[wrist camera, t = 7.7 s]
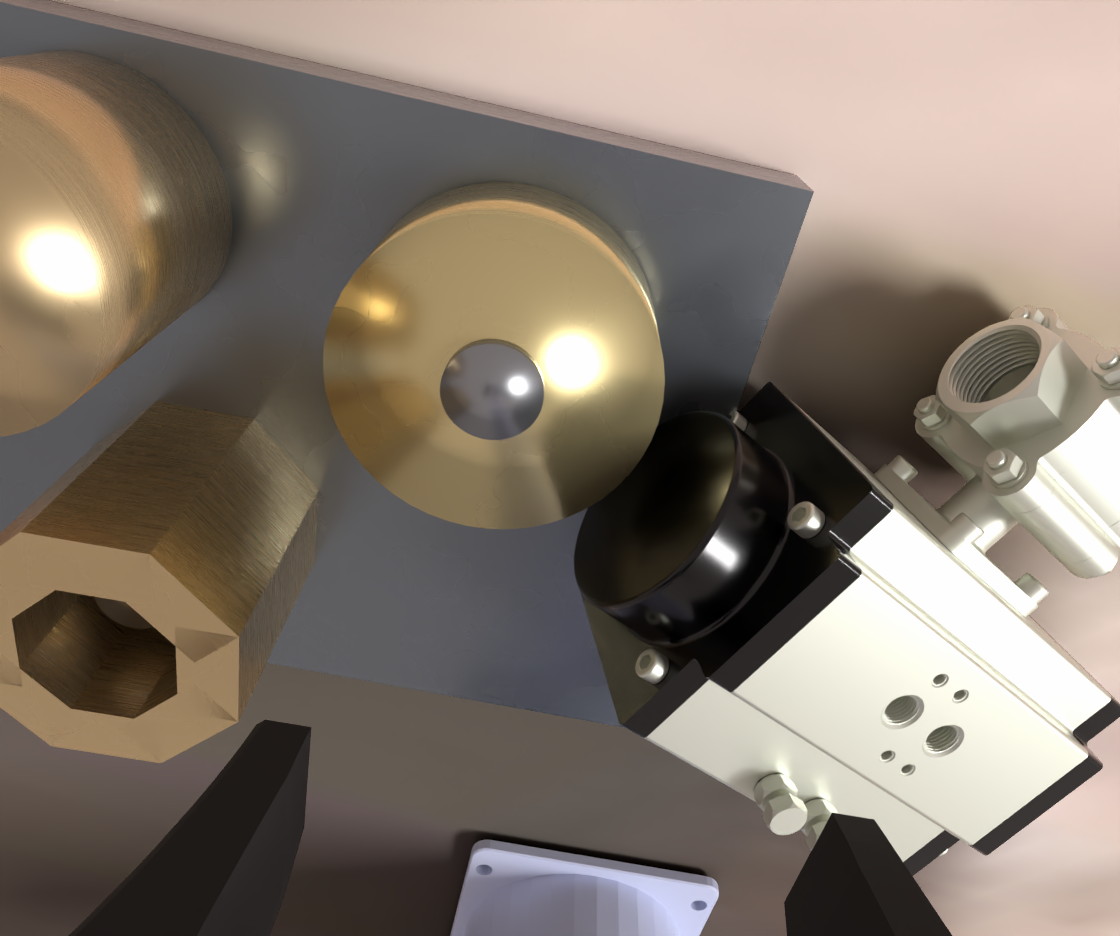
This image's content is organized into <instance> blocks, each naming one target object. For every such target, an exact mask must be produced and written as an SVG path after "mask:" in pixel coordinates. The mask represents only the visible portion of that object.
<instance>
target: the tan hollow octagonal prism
mask: <svg viewBox="0 0 1120 936" xmlns="http://www.w3.org/2000/svg"><path fill="white" fill-rule="evenodd" d="M318 499H319V488H318V487H317V486H316V485H315V484H314V483H313V482H312V481H311V479H310V478H309V477H308V476H307V475H306V474H305V473H304V472H303V471H302V470H301V469H300V468H299V467H298V465H297V464H296V463H295V462H294V461H293V460H292V459H291V458H290V457H289V456H288V455H287V454H286V453H285V451H284V450H283V449H282V448H281V447H280V446H279V445H278V444H277V443H276V442H275V441H274V440H273V439H272V437H271V436H270V435H269V434H268V433H267V432H266V431H265V430H264V429H263V428H262V427H261V426H260V425H259V423H258V422H257V421H256V420H255V419H251V418H246V417H240V416H235V415H230V414H224V413H219V412H213V411H208V410H203V409H197V408H192V407H186V406H181V405H175V404H170V403H165V402H159V401H156V402H155V403H153V404H152V405H150V406H149V407H148V408H146V409H145V410H143V411H142V412H141V413H139V414H138V415H137V416H135V417H134V418H132V419H131V420H130V421H128V422H127V423H125V424H124V425H123V426H121V427H120V428H119V429H117V430H116V431H114V432H113V433H112V434H110V435H109V436H107V437H106V438H105V439H103V440H102V441H101V442H99V443H98V444H96V445H95V446H94V447H92V448H91V449H90V450H89V451H88V452H87V453H86V454H85V455H84V456H82V457H81V458H80V459H79V460H78V461H77V462H76V463H75V464H74V465H73V466H72V467H71V468H70V469H68V470H67V471H66V472H65V473H64V474H63V475H62V476H61V477H60V478H59V479H58V480H57V481H56V482H55V483H53V484H52V485H51V486H50V487H49V488H48V489H47V490H46V491H45V492H44V493H43V494H42V495H41V496H39V497H38V498H37V499H36V500H35V501H34V502H33V503H32V504H31V505H30V506H29V507H28V508H27V509H25V510H24V511H23V512H22V513H21V514H20V515H19V516H18V517H17V518H16V519H15V520H14V521H13V522H12V523H10V524H9V525H8V526H7V527H6V528H5V529H4V530H3V531H2V532H1V533H0V707H1V708H2V709H3V710H5V711H6V712H7V713H8V714H10V715H11V716H12V717H14V718H15V719H16V720H18V721H19V722H20V723H22V724H23V725H24V726H26V727H27V728H28V729H29V730H31V731H32V732H33V733H35V734H36V735H37V736H39V737H40V738H41V739H43V740H44V741H45V742H47V743H48V744H49V745H50V746H55V747H61V748H67V749H74V750H80V751H86V752H93V753H99V754H106V755H112V756H118V757H125V758H131V759H137V760H144V761H150V762H156V763H162V762H164V761H166V760H168V759H170V758H172V757H174V756H175V755H177V754H179V753H181V752H183V751H185V750H187V749H188V748H190V747H192V746H194V745H196V744H198V743H200V742H201V741H203V740H205V739H207V738H209V737H211V736H213V735H214V734H216V733H218V732H220V731H222V730H224V729H226V728H227V727H229V726H231V725H233V724H235V723H237V722H238V721H239V719H240V717H241V715H242V713H243V711H244V709H245V707H246V705H247V702H248V700H249V698H250V696H251V694H252V692H253V690H254V688H255V686H256V684H257V682H258V679H259V677H260V675H261V673H262V671H263V669H264V667H265V665H266V663H267V661H268V659H269V656H270V654H271V652H272V650H273V648H274V646H275V644H276V642H277V640H278V638H279V636H280V634H281V631H282V629H283V627H284V625H285V623H286V621H287V619H288V617H289V615H290V613H291V611H292V608H293V606H294V604H295V602H296V600H297V598H298V596H299V594H300V592H301V590H302V588H303V586H304V583H305V581H306V579H307V577H308V575H309V573H310V571H311V569H312V567H313V565H314V562H315V546H316V530H317V515H318ZM95 597H100V598H106V599H112V600H118V601H124V602H126V603H127V604H128V605H129V606H131V607H132V608H133V609H134V610H135V611H136V612H137V613H139V614H140V615H141V616H142V617H143V618H144V619H145V620H146V621H148V622H149V623H150V624H151V625H152V626H153V627H151V628H144V629H137V628H131V627H127V626H124V625H121V624H119V623H117V622H115V621H113V620H112V619H110V618H109V617H108V616H107V615H106V614H105V613H104V612H103V611H102V610H101V609H100V608H99V606H98V604H97V602H96V600H95Z"/></svg>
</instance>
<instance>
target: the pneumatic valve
mask: <svg viewBox="0 0 1120 936" xmlns="http://www.w3.org/2000/svg"><path fill="white" fill-rule="evenodd" d="M729 415H731V416H732V418H731V420H730V419H728V418H727V417H726V416H724V415H722V414H719V413H716V412H713V411H702V410H700V411H692V412H688V413H684V414H681V415H679V416H676V417H674V418H672V419H669V420H667V421H666V422H664V423H662V424H660V425H659V426H657V427H656V430H655V433H654V435H653V438H652V440H651V442H650V444H649V446H648V448H647V449H646V451H645V453H644V455H643V457H642V458H641V460H640V461H639V462H638V464H637V465H636V466H635V468H634V469H633V470H632V472H631V473H630V474H629V475H628V476H627V477H626V478H625V479H624V480H623V481H622V482H621V483H620V484H619V485H618V486H617V487H616V488H615V489H614V490H613V491H611V492H610V493H609V494H607V495H606V496H605V497H604V498H602V499H601V500H600V501H598V502H596V503H595V504H593V505H591V506H590V507H588V509H587V511H586V513H585V516H584V518H583V520H582V523H581V526H580V529H579V532H578V536H577V540H576V545H575V551H574V574H575V579H576V583H577V585H578V588H579V590H580V592H581V596H582V599H583V602H584V606H585V609H586V613H587V616H588V619H589V623H590V626H591V630H592V633H593V636H594V640H595V643H596V646H597V650H598V653H599V657H600V660H601V663H602V667H603V670H604V674H605V677H606V680H607V684H608V687H609V691H610V694H611V697H612V701H613V704H614V707H615V711H616V714H617V718H618V721H619V724H620V725H622V726H624V727H626V728H627V729H629V730H631V731H633V732H634V733H636V734H638V735H640V736H641V737H643V738H645V739H647V740H648V741H650V742H652V743H654V744H655V745H657V746H659V747H661V748H662V749H664V750H666V751H668V752H669V753H671V754H673V755H675V756H676V757H678V758H680V759H682V760H683V761H685V762H687V763H689V764H690V765H692V766H694V767H696V768H697V769H699V770H701V771H703V772H704V773H706V774H708V775H710V776H711V777H713V778H715V779H717V780H719V781H720V782H722V783H724V784H726V785H727V786H729V787H731V788H733V789H734V790H736V791H738V792H740V793H741V794H743V795H745V796H747V797H748V798H750V799H752V800H754V801H755V802H756V803H757V805H758V806H759V807H760V808H761V809H762V810H763V811H764V813H763V815H762V817H763V819H764V821H765V824H766V826H767V827H768V828H769V829H770V830H771V831H773V832H774V833H776V834H778V835H788V834H792V833H794V832H796V831H798V830H799V829H800V830H801V831H802V832H803V833H804V834H805V835H806V836H807V838H806V840H805V841H806V843H807V845H808V847H809V849H810V850H811V851H812V849H813V847H814V845H815V844H816V842H817V840H818V838H819V836H820V834H821V832H822V830H823V829H824V827H825V825H826V823H827V821H828V819H829V817H830V815H831V813H838V814H844V815H850V816H856V817H862V818H869V819H874V820H875V821H876V823H877V824H878V826H879V827H880V829H881V830H882V831H883V833H884V834H885V836H886V837H887V839H888V840H889V842H890V843H891V845H892V846H893V848H894V849H895V851H896V852H897V854H898V855H899V857H900V858H901V860H902V861H903V863H904V864H905V866H906V867H907V869H908V871H909V872H910V874H911V875H912V876H913V875H914V874H916V873H917V872H918V871H920V870H921V869H922V868H924V867H925V866H926V865H927V864H929V863H930V862H931V861H933V860H934V859H935V858H937V857H939V856H942V855H944V854H945V853H946V852H947V850H948V848H950V847H951V846H952V845H953V844H955V843H956V842H957V841H959V840H961V841H963V842H964V843H966V844H968V845H969V846H971V847H972V848H974V849H975V850H977V851H979V852H980V853H982V854H983V855H988V854H990V853H991V852H992V851H994V850H995V849H996V848H998V847H999V846H1000V845H1002V844H1003V843H1004V842H1006V841H1007V840H1008V839H1010V838H1011V837H1012V836H1014V835H1015V834H1016V833H1018V832H1019V831H1020V830H1022V829H1023V828H1024V827H1026V826H1027V825H1028V824H1030V823H1031V822H1032V821H1034V820H1035V819H1036V818H1038V817H1039V816H1040V815H1041V814H1043V813H1044V812H1045V811H1047V810H1048V809H1049V808H1051V807H1052V806H1053V805H1055V804H1056V803H1057V802H1059V801H1060V800H1061V799H1063V798H1064V797H1065V796H1067V795H1068V794H1069V793H1071V792H1072V791H1073V790H1075V789H1076V788H1077V787H1079V786H1080V785H1081V784H1083V783H1084V782H1085V781H1087V780H1088V779H1089V778H1091V777H1092V776H1093V775H1095V774H1096V773H1097V772H1099V771H1100V770H1101V769H1102V767H1103V764H1102V763H1101V761H1100V760H1099V759H1098V758H1097V757H1096V756H1095V755H1094V754H1093V753H1092V752H1091V751H1090V749H1089V748H1088V747H1087V743H1088V741H1089V740H1090V739H1092V738H1093V737H1094V736H1095V735H1097V734H1098V733H1099V732H1101V731H1102V730H1103V729H1105V728H1106V727H1107V726H1108V725H1110V724H1111V723H1112V722H1114V721H1115V720H1116V719H1118V718H1119V717H1120V703H1119V702H1118V701H1117V700H1116V699H1115V698H1114V697H1113V696H1112V695H1111V694H1110V693H1109V692H1108V691H1107V690H1105V689H1104V688H1103V687H1102V686H1101V685H1100V684H1099V683H1098V682H1097V681H1096V680H1095V679H1094V678H1093V677H1092V676H1091V675H1090V674H1089V673H1088V672H1087V671H1086V670H1085V669H1084V668H1083V667H1082V666H1081V665H1080V664H1079V663H1078V662H1077V661H1076V660H1075V659H1074V658H1073V657H1072V656H1071V655H1070V654H1069V653H1068V652H1067V651H1065V650H1064V649H1063V648H1062V647H1061V646H1060V645H1059V644H1058V643H1057V642H1056V641H1055V640H1054V639H1053V638H1052V637H1051V636H1050V635H1049V634H1048V633H1047V632H1046V631H1045V630H1044V629H1043V628H1042V627H1041V626H1040V625H1039V624H1038V623H1037V622H1036V621H1035V620H1034V619H1033V618H1032V617H1031V616H1030V615H1029V614H1030V613H1032V612H1033V611H1034V610H1035V609H1036V608H1038V607H1039V606H1038V605H1037V603H1039V602H1040V601H1041V600H1042V599H1044V598H1045V597H1046V596H1047V595H1048V594H1049V591H1048V590H1047V589H1046V588H1045V587H1043V586H1042V585H1041V584H1040V583H1039V582H1038V581H1037V580H1036V579H1035V578H1034V577H1033V576H1031V575H1030V574H1029V573H1026V574H1025V575H1023V576H1022V577H1021V578H1020V579H1019V580H1017V581H1016V582H1015V583H1014V582H1013V581H1012V580H1011V579H1010V578H1009V577H1008V576H1007V575H1006V574H1005V573H1004V572H1003V571H1001V570H1000V569H999V568H998V567H997V566H996V565H995V564H994V563H993V562H992V561H991V560H990V559H989V558H988V557H987V556H986V555H985V553H986V551H987V550H988V549H989V548H990V547H991V546H992V545H994V544H995V543H996V542H997V541H998V540H999V539H1000V538H1002V537H1003V536H1004V535H1005V534H1006V533H1007V532H1008V531H1010V530H1011V529H1012V528H1013V527H1014V526H1015V525H1016V524H1018V523H1020V524H1021V525H1022V526H1023V527H1025V528H1026V529H1027V530H1028V531H1029V532H1030V533H1031V534H1032V535H1033V536H1034V537H1035V538H1036V539H1037V540H1038V541H1039V542H1040V543H1041V544H1042V545H1043V546H1044V547H1045V548H1046V549H1047V550H1048V551H1049V552H1050V553H1051V554H1052V555H1053V556H1054V557H1055V558H1056V559H1058V560H1059V561H1060V562H1061V563H1062V564H1063V565H1064V566H1065V567H1066V568H1067V569H1068V570H1069V571H1070V572H1071V573H1072V574H1074V575H1076V576H1078V577H1082V578H1094V577H1098V576H1102V575H1105V574H1108V573H1110V572H1111V571H1112V569H1113V567H1114V565H1115V564H1116V562H1117V561H1118V558H1119V553H1120V348H1119V347H1114V348H1111V349H1108V350H1106V349H1105V348H1104V347H1103V346H1101V345H1100V344H1099V343H1098V342H1096V341H1095V340H1093V339H1091V338H1089V337H1088V336H1085V335H1083V334H1081V333H1078V332H1075V331H1071V330H1069V328H1068V327H1067V326H1066V325H1065V324H1064V323H1063V321H1062V320H1061V319H1060V318H1059V316H1058V315H1057V314H1056V313H1055V312H1054V311H1053V310H1051V309H1049V308H1039V309H1037V308H1035V307H1033V306H1031V305H1026V306H1023V307H1019V308H1016V309H1015V310H1014V311H1013V312H1012V313H1011V315H1010V317H1009V318H1008V320H1005V321H1002V322H998V323H995V324H993V325H990V326H988V327H986V328H984V329H982V330H980V331H978V332H977V333H975V334H974V335H972V336H971V337H969V338H968V339H967V340H966V341H964V342H963V343H962V344H961V345H960V346H959V347H958V348H957V349H956V350H955V351H954V352H953V353H952V355H951V356H950V357H949V359H948V360H947V362H946V363H945V365H944V367H943V369H942V371H941V373H940V376H939V380H938V383H937V388H936V395H931V396H928V397H925V398H922V399H921V400H920V401H919V402H918V403H917V406H916V408H915V410H914V413H913V415H914V416H915V417H916V418H917V419H916V422H915V430H916V432H917V433H918V434H919V435H920V436H921V437H922V438H923V439H924V440H925V441H926V442H927V443H928V444H929V445H930V446H931V447H932V448H933V449H934V450H935V451H936V452H938V453H939V454H940V455H941V456H942V457H943V458H944V459H945V460H946V461H947V462H948V463H949V464H950V465H951V466H952V467H953V468H954V469H955V470H956V471H957V472H958V473H959V474H960V475H961V476H962V477H963V478H965V479H966V480H967V481H968V483H967V484H966V485H965V486H963V487H962V488H961V489H960V490H959V491H958V492H957V493H956V494H955V495H953V496H952V497H951V498H950V499H949V500H948V501H947V502H946V503H945V504H943V505H942V506H941V507H940V508H938V509H935V508H934V507H933V506H932V505H931V504H929V503H928V502H927V501H926V500H925V499H924V498H923V497H922V496H921V495H920V494H918V493H917V492H916V491H915V490H914V489H913V488H912V487H911V486H910V485H909V484H907V483H908V482H910V481H911V480H912V479H913V478H914V477H915V476H916V475H917V474H918V471H917V470H916V469H915V468H914V467H913V466H912V465H910V464H909V463H908V462H907V461H906V460H905V459H904V458H903V457H902V456H900V455H898V456H897V457H896V458H894V459H893V460H892V461H891V462H890V463H889V464H888V465H887V464H884V465H883V466H882V467H881V468H880V469H879V470H878V471H877V472H876V473H875V474H874V473H872V472H871V471H870V470H869V469H868V468H867V467H866V466H865V465H863V464H862V463H861V462H860V461H859V460H858V459H857V458H856V457H855V456H853V455H852V454H851V453H850V452H849V451H848V450H847V449H846V448H844V447H843V446H842V445H841V444H840V443H839V442H838V441H837V440H835V439H834V438H833V437H832V436H831V435H830V434H829V433H828V432H826V431H825V430H824V429H823V428H822V427H821V426H820V425H819V424H818V423H816V422H815V421H814V420H813V419H812V418H811V417H810V416H809V415H807V414H806V413H805V412H804V411H803V410H802V409H801V408H800V407H798V406H797V405H796V404H795V403H794V402H793V401H792V400H791V399H789V398H788V397H787V396H786V395H785V394H784V393H783V392H782V391H781V390H779V389H778V388H777V387H776V386H775V385H774V384H773V383H772V382H769V383H767V384H766V385H765V386H764V387H763V388H762V389H761V390H760V391H759V392H758V393H757V394H756V395H755V396H754V397H753V398H752V399H751V400H750V401H749V402H748V403H747V404H746V406H745V407H744V408H743V409H742V410H741V411H740V412H739V413H738V412H737V411H735V410H733V411H731V412H730V413H729Z"/></svg>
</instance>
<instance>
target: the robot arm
mask: <svg viewBox="0 0 1120 936" xmlns="http://www.w3.org/2000/svg"><path fill="white" fill-rule="evenodd" d="M310 737H311V727H306V726H300V725H294V724H288V723H282V722H276V721H269V720H264V721H262V722H260V723H259V724H257V725H256V726H255V727H254V729H253V730H252V732H251V733H250V734H249V736H248V737H247V739H246V740H245V741H244V743H243V744H242V745H241V747H240V748H239V749H238V751H237V752H236V753H235V755H234V756H233V757H232V758H231V760H230V761H229V762H228V764H227V765H226V766H225V767H224V769H223V770H222V771H221V772H220V774H219V775H218V776H217V777H216V779H215V780H214V781H213V782H212V783H211V785H210V786H209V787H208V788H207V789H206V791H205V792H204V793H203V794H202V795H201V796H200V798H199V799H198V800H197V801H196V802H195V804H194V805H193V806H192V807H191V808H190V809H189V811H188V812H187V813H186V814H185V815H184V816H183V817H182V818H181V819H180V821H179V822H178V823H177V824H176V825H175V826H174V827H173V828H172V830H171V831H170V832H169V833H168V834H167V835H166V836H165V837H164V838H163V840H162V841H161V842H160V843H159V844H158V845H157V846H156V847H155V848H154V850H153V851H152V852H151V853H150V854H149V855H148V856H147V857H146V858H145V859H144V860H143V862H142V863H141V864H140V865H139V866H138V867H137V868H136V869H135V870H134V871H133V872H132V873H131V874H130V875H129V876H128V877H127V878H126V879H125V880H124V881H123V882H122V883H121V884H120V885H119V886H118V887H117V888H116V889H115V890H114V891H113V892H112V893H111V894H110V895H109V896H108V897H107V898H106V899H105V900H104V901H103V902H102V903H101V904H100V905H99V906H98V907H97V908H96V909H95V910H94V911H93V913H92V914H91V915H90V916H89V917H88V918H87V919H86V920H85V921H84V922H83V923H82V924H80V925H79V926H78V927H77V928H76V929H75V930H74V931H73V932H72V933H71V934H70V935H69V936H269V934H270V932H271V929H272V927H273V924H274V922H275V919H276V917H277V914H278V912H279V909H280V907H281V903H282V900H283V897H284V894H285V890H286V887H287V884H288V880H289V877H290V874H291V870H292V867H293V863H294V860H295V857H296V853H297V850H298V846H299V843H300V839H301V836H302V833H303V829H304V820H305V806H306V792H307V778H308V765H309V751H310ZM718 896H719V890H718V884H717V882H716V881H715V880H714V879H712V878H711V877H707V876H703V875H697V874H691V873H685V872H679V871H673V870H667V869H661V868H655V867H649V866H643V865H637V864H632V863H626V862H620V861H614V860H608V859H602V858H596V857H590V856H584V855H578V854H572V853H566V852H560V851H555V850H549V849H543V848H537V847H531V846H525V845H519V844H513V843H507V842H501V841H495V840H486V839H485V840H481V841H478V842H477V843H475V844H474V846H473V847H472V851H471V855H470V859H469V863H468V867H467V871H466V875H465V879H464V883H463V887H462V890H461V894H460V898H459V902H458V906H457V910H456V914H455V918H454V922H453V926H452V930H451V934H450V936H699V935H700V933H701V931H702V929H703V927H704V925H705V923H706V921H707V919H708V917H709V915H710V913H711V911H712V909H713V907H714V905H715V903H716V901H717V899H718ZM784 904H785V916H786V928H787V936H952V935H951V933H950V932H949V930H948V929H947V927H946V926H945V924H944V923H943V921H942V920H941V918H940V917H939V915H938V914H937V912H936V911H935V909H934V908H933V906H932V905H931V904H930V902H929V901H928V899H927V898H926V896H925V895H924V893H923V892H922V890H921V889H920V887H919V886H918V884H917V883H916V881H915V880H914V878H913V877H912V875H911V874H910V872H909V871H908V869H907V867H906V866H905V864H904V863H903V861H902V860H901V858H900V857H899V855H898V854H897V852H896V851H895V849H894V848H893V846H892V845H891V843H890V842H889V840H888V839H887V837H886V836H885V834H884V833H883V831H882V830H881V829H880V827H879V826H878V824H877V823H876V821H875V820H874V819H869V818H862V817H856V816H850V815H844V814H838V813H831V815H830V817H829V819H828V821H827V823H826V825H825V827H824V829H823V830H822V832H821V834H820V836H819V838H818V840H817V842H816V844H815V845H814V847H813V849H812V851H811V853H810V855H809V857H808V859H807V861H806V862H805V864H804V866H803V868H802V870H801V872H800V874H799V876H798V878H797V879H796V881H795V883H794V885H793V887H792V889H791V891H790V893H789V894H788V896H787V898H786V900H785V902H784Z"/></svg>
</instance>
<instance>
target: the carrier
mask: <svg viewBox="0 0 1120 936" xmlns="http://www.w3.org/2000/svg"><path fill="white" fill-rule="evenodd" d="M813 192H814V191H813V190H812V189H810V188H809V187H808V186H807V185H806V184H805V183H804V182H803V181H802V180H801V179H800V178H799V177H798V176H797V175H793V174H788V173H784V172H780V171H776V170H771V169H767V168H763V167H758V166H754V165H750V164H746V163H741V162H737V161H733V160H729V159H724V158H720V157H716V156H711V155H707V154H703V153H699V152H694V151H690V150H686V149H682V148H677V147H673V146H669V145H665V144H660V143H656V142H652V141H647V140H643V139H639V138H635V137H630V136H626V135H622V134H618V133H613V132H609V131H605V130H601V129H596V128H592V127H588V126H583V125H579V124H575V123H571V122H566V121H562V120H558V119H554V118H549V117H545V116H541V115H537V114H532V113H528V112H524V111H519V110H515V109H511V108H507V107H502V106H498V105H494V104H490V103H485V102H481V101H477V100H473V99H468V98H464V97H460V96H455V95H451V94H447V93H443V92H438V91H434V90H430V89H426V88H421V87H417V86H413V85H409V84H404V83H400V82H396V81H391V80H387V79H383V78H379V77H374V76H370V75H366V74H362V73H357V72H353V71H349V70H345V69H340V68H336V67H332V66H327V65H323V64H319V63H315V62H310V61H306V60H302V59H298V58H293V57H289V56H285V55H281V54H276V53H272V52H268V51H263V50H259V49H255V48H251V47H246V46H242V45H238V44H234V43H229V42H225V41H221V40H217V39H212V38H208V37H204V36H199V35H195V34H191V33H187V32H182V31H178V30H174V29H170V28H165V27H161V26H157V25H152V24H148V23H144V22H140V21H135V20H131V19H127V18H123V17H118V16H114V15H110V14H106V13H101V12H97V11H93V10H88V9H84V8H80V7H76V6H71V5H67V4H63V3H59V2H54V1H50V0H0V533H1V532H2V531H3V530H4V529H5V528H6V527H7V526H8V525H9V524H10V523H12V522H13V521H14V520H15V519H16V518H17V517H18V516H19V515H20V514H21V513H22V512H23V511H24V510H25V509H27V508H28V507H29V506H30V505H31V504H32V503H33V502H34V501H35V500H36V499H37V498H38V497H39V496H41V495H42V494H43V493H44V492H45V491H46V490H47V489H48V488H49V487H50V486H51V485H52V484H53V483H55V482H56V481H57V480H58V479H59V478H60V477H61V476H62V475H63V474H64V473H65V472H66V471H67V470H68V469H70V468H71V467H72V466H73V465H74V464H75V463H76V462H77V461H78V460H79V459H80V458H81V457H82V456H84V455H85V454H86V453H87V452H88V451H89V450H90V449H91V448H92V447H94V446H95V445H96V444H98V443H99V442H101V441H102V440H103V439H105V438H106V437H107V436H109V435H110V434H112V433H113V432H114V431H116V430H117V429H119V428H120V427H121V426H123V425H124V424H125V423H127V422H128V421H130V420H131V419H132V418H134V417H135V416H137V415H138V414H139V413H141V412H142V411H143V410H145V409H146V408H148V407H149V406H150V405H152V404H153V403H155V402H156V401H159V402H165V403H170V404H175V405H181V406H186V407H192V408H197V409H203V410H208V411H213V412H219V413H224V414H230V415H235V416H240V417H246V418H251V419H255V420H256V421H257V422H258V423H259V425H260V426H261V427H262V428H263V429H264V430H265V431H266V432H267V433H268V434H269V435H270V436H271V437H272V439H273V440H274V441H275V442H276V443H277V444H278V445H279V446H280V447H281V448H282V449H283V450H284V451H285V453H286V454H287V455H288V456H289V457H290V458H291V459H292V460H293V461H294V462H295V463H296V464H297V465H298V467H299V468H300V469H301V470H302V471H303V472H304V473H305V474H306V475H307V476H308V477H309V478H310V479H311V481H312V482H313V483H314V484H315V485H316V486H317V487H318V488H319V499H318V515H317V530H316V546H315V562H314V565H313V567H312V569H311V571H310V573H309V575H308V577H307V579H306V581H305V583H304V586H303V588H302V590H301V592H300V594H299V596H298V598H297V600H296V602H295V604H294V606H293V608H292V611H291V613H290V615H289V617H288V619H287V621H286V623H285V625H284V627H283V629H282V631H281V634H280V636H279V638H278V640H277V642H276V644H275V646H274V648H273V650H272V652H271V654H270V656H269V659H268V661H267V663H271V664H276V665H282V666H287V667H293V668H299V669H304V670H310V671H315V672H321V673H326V674H332V675H337V676H343V677H348V678H354V679H359V680H365V681H370V682H376V683H381V684H387V685H392V686H398V687H403V688H409V689H415V690H420V691H426V692H431V693H437V694H442V695H448V696H453V697H459V698H464V699H470V700H475V701H481V702H486V703H492V704H497V705H503V706H508V707H514V708H519V709H525V710H531V711H536V712H542V713H547V714H553V715H558V716H564V717H569V718H575V719H580V720H586V721H591V722H597V723H602V724H608V725H613V726H619V727H624V726H622V725H620V724H619V721H618V718H617V714H616V711H615V707H614V704H613V701H612V697H611V694H610V691H609V687H608V684H607V680H606V677H605V674H604V670H603V667H602V663H601V660H600V657H599V653H598V650H597V646H596V643H595V640H594V636H593V633H592V630H591V626H590V623H589V619H588V616H587V613H586V609H585V606H584V602H583V599H582V596H581V592H580V590H579V588H578V585H577V583H576V579H575V574H574V551H575V545H576V540H577V536H578V532H579V529H580V526H581V523H582V520H583V518H584V516H585V513H586V511H587V509H588V507H590V506H591V505H593V504H595V503H596V502H598V501H600V500H601V499H602V498H604V497H605V496H606V495H607V494H609V493H610V492H611V491H613V490H614V489H615V488H616V487H617V486H618V485H619V484H620V483H621V482H622V481H623V480H624V479H625V478H626V477H627V476H628V475H629V474H630V473H631V472H632V470H633V469H634V468H635V466H636V465H637V464H638V462H639V461H640V460H641V458H642V457H643V455H644V453H645V451H646V449H647V448H648V446H649V444H650V442H651V440H652V438H653V435H654V433H655V430H656V427H657V426H659V425H660V424H662V423H664V422H666V421H667V420H669V419H672V418H674V417H676V416H679V415H681V414H684V413H688V412H692V411H700V410H702V411H713V412H716V413H719V414H722V415H724V416H726V417H727V418H728V419H730V420H731V418H732V416H731V415H729V413H730V412H731V411H733V410H735V411H737V408H738V405H739V402H740V399H741V397H742V394H743V391H744V388H745V385H746V382H747V380H748V377H749V374H750V371H751V368H752V365H753V362H754V360H755V357H756V354H757V351H758V348H759V345H760V343H761V340H762V337H763V334H764V331H765V328H766V326H767V323H768V320H769V317H770V314H771V311H772V309H773V306H774V303H775V300H776V297H777V294H778V292H779V289H780V286H781V283H782V280H783V277H784V274H785V272H786V269H787V266H788V263H789V260H790V257H791V255H792V252H793V249H794V246H795V243H796V240H797V238H798V235H799V232H800V229H801V226H802V223H803V221H804V218H805V215H806V212H807V209H808V206H809V204H810V201H811V198H812V195H813ZM95 600H96V602H97V604H98V606H99V608H100V609H101V610H102V611H103V612H104V613H105V614H106V615H107V616H108V617H109V618H110V619H112V620H113V621H115V622H117V623H119V624H121V625H124V626H127V627H131V628H137V629H144V628H151V627H153V626H152V625H151V624H150V623H149V622H148V621H146V620H145V619H144V618H143V617H142V616H141V615H140V614H139V613H137V612H136V611H135V610H134V609H133V608H132V607H131V606H129V605H128V604H127V603H126V602H124V601H118V600H112V599H106V598H100V597H95ZM624 728H625V727H624Z"/></svg>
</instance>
